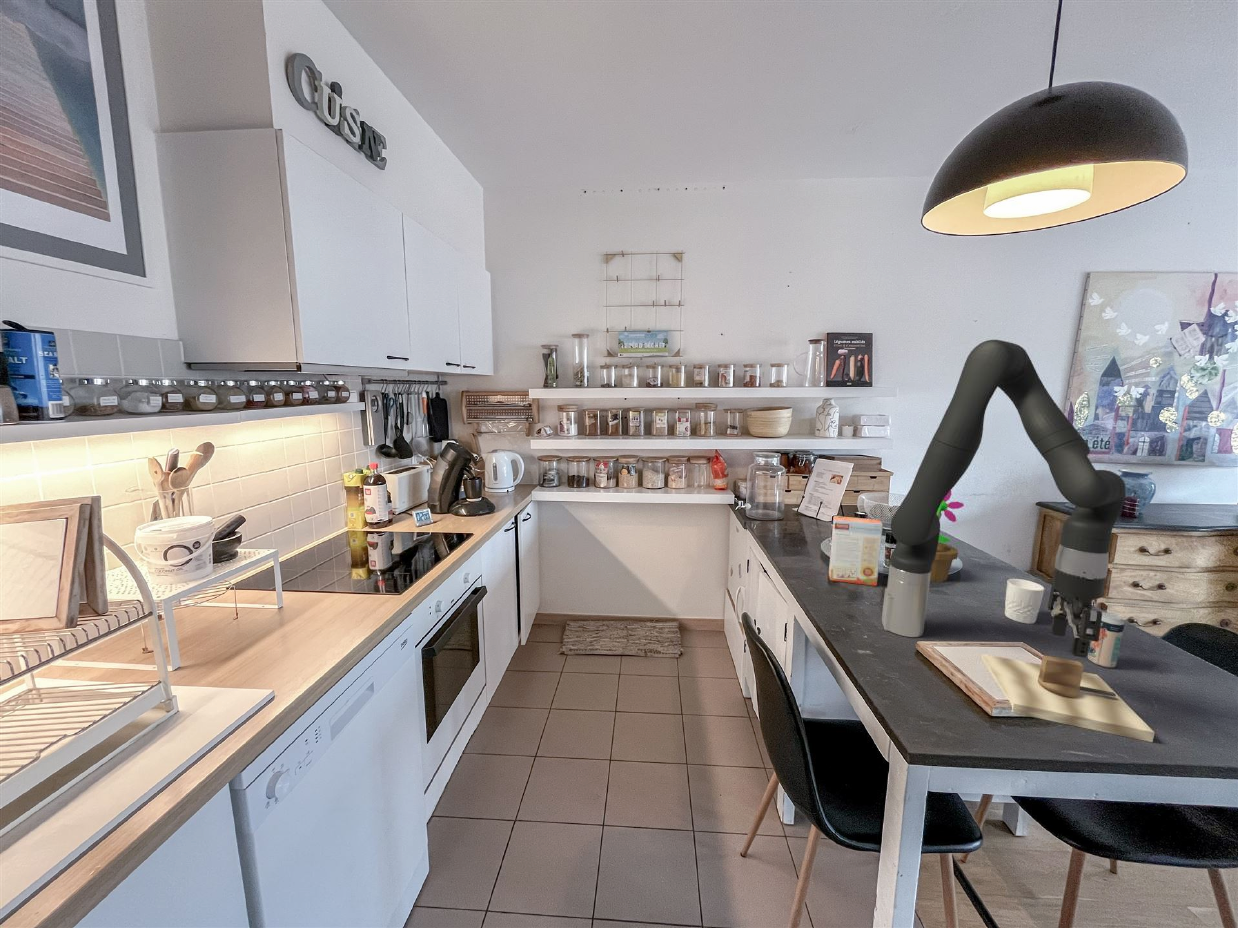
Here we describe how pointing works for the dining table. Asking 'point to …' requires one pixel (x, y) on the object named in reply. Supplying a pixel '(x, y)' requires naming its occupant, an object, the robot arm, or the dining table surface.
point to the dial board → (1065, 700)
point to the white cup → (1023, 600)
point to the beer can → (1107, 641)
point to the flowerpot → (944, 551)
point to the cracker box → (855, 550)
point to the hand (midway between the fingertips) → (1067, 644)
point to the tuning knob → (1064, 677)
